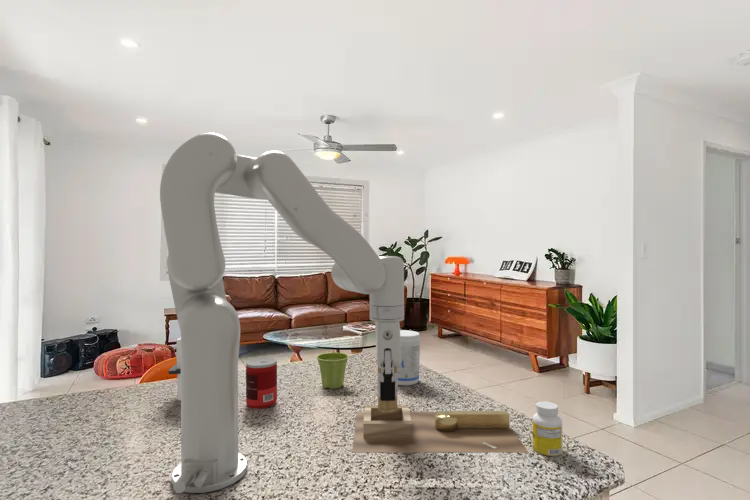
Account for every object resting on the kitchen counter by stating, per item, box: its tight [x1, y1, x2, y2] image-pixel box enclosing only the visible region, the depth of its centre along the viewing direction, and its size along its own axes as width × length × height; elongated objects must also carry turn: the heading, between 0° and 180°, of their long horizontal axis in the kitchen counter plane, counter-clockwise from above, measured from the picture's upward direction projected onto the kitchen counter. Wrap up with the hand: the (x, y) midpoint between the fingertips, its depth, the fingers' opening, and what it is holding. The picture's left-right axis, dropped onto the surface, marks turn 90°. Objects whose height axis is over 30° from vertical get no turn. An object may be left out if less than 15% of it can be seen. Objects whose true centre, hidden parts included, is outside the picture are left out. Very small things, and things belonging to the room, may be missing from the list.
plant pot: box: [315, 352, 350, 390], centre depth 123 cm, size 9×9×9 cm
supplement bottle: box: [532, 400, 564, 458], centre depth 82 cm, size 5×5×10 cm
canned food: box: [245, 357, 278, 410], centre depth 109 cm, size 8×8×11 cm
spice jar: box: [377, 349, 399, 413], centre depth 92 cm, size 5×5×14 cm
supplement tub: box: [397, 329, 421, 386], centre depth 127 cm, size 10×10×15 cm
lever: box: [435, 410, 510, 431], centre depth 92 cm, size 5×16×3 cm, turn 90°
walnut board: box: [351, 411, 529, 453], centre depth 91 cm, size 20×34×1 cm, turn 90°
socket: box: [363, 404, 412, 438], centre depth 92 cm, size 10×10×3 cm
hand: (387, 395), depth 92 cm, fingers closed on spice jar, 4 cm apart
